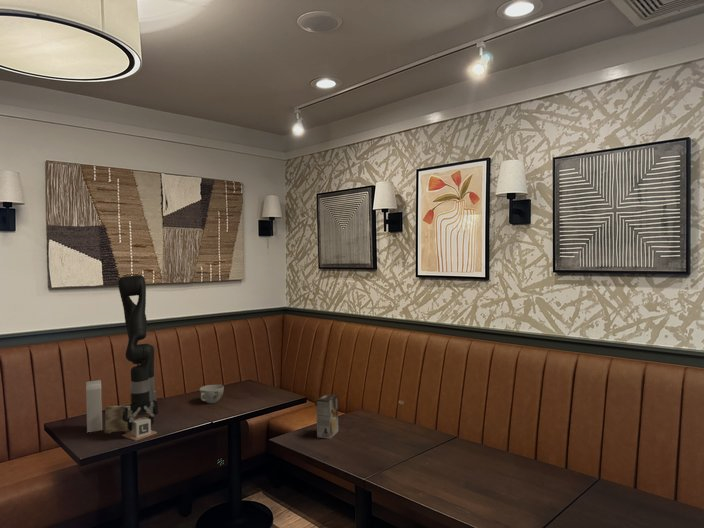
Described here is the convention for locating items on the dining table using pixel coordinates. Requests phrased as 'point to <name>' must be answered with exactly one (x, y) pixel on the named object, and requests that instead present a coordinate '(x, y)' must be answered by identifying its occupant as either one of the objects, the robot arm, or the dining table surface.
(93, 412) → the milk
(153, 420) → the robot arm
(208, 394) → the teacup
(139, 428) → the cube
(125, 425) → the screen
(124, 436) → the coaster
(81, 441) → the dining table surface
